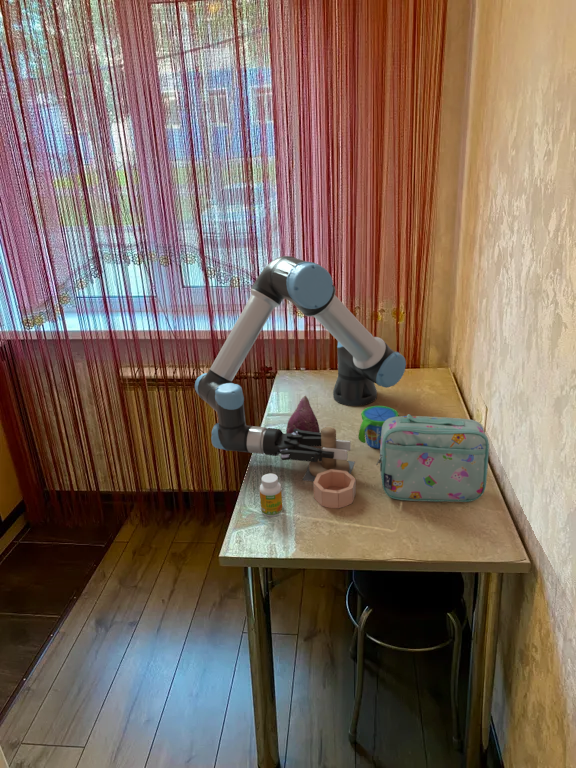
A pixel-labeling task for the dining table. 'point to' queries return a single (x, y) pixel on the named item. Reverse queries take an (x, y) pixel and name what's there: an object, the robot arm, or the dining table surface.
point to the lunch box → (433, 458)
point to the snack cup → (374, 424)
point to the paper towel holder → (326, 464)
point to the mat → (310, 477)
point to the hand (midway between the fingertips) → (348, 450)
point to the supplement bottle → (270, 495)
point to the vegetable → (303, 418)
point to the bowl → (334, 488)
